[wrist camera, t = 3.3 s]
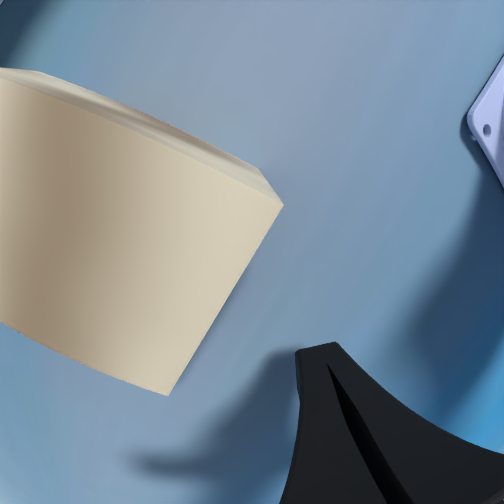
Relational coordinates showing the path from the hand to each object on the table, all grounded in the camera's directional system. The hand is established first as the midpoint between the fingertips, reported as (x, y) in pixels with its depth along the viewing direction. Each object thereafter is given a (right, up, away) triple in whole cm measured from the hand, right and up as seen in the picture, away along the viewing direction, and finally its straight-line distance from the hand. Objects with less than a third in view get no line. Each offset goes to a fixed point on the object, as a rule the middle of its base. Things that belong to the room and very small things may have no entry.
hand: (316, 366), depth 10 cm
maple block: (-7, +6, 0) cm, 9 cm away
